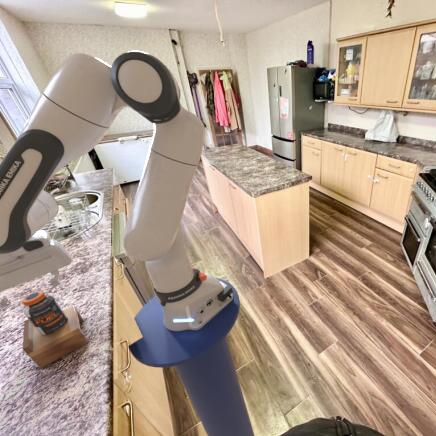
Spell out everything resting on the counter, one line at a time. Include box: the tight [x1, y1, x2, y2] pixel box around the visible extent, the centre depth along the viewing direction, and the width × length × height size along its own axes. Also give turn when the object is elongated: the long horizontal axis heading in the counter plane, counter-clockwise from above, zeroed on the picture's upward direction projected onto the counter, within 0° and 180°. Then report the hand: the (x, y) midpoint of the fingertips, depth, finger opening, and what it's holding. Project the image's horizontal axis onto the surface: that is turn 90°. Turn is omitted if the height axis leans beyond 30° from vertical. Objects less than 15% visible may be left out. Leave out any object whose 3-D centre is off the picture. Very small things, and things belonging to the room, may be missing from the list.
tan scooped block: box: [22, 304, 89, 369], centre depth 65 cm, size 10×12×8 cm
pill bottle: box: [21, 290, 68, 335], centre depth 62 cm, size 6×6×11 cm
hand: (33, 294), depth 59 cm, fingers open, 8 cm apart
